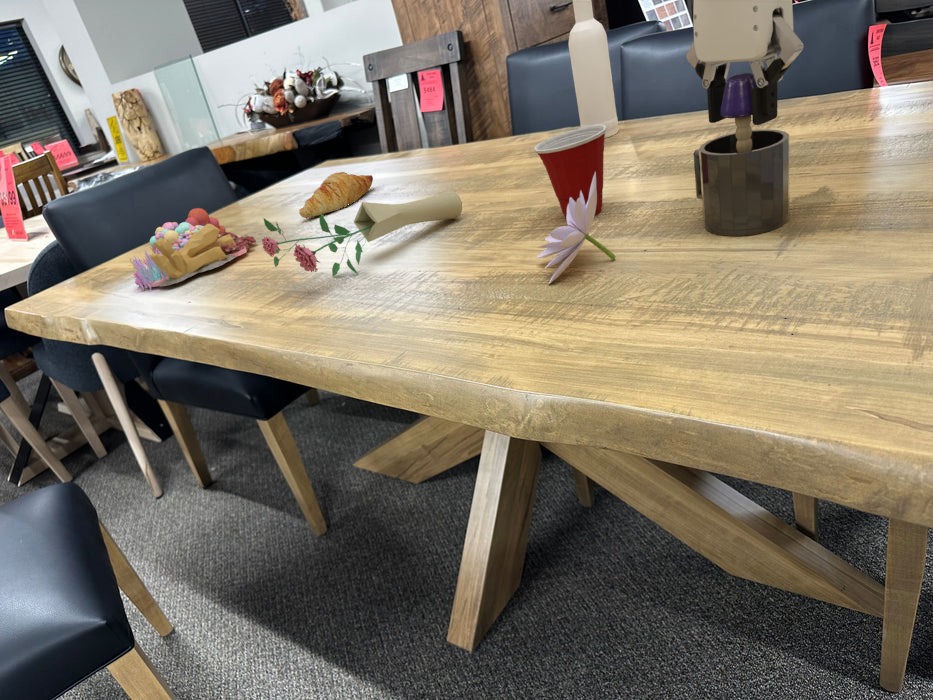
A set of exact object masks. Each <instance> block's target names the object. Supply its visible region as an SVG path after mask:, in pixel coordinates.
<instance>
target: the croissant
mask: <svg viewBox="0 0 933 700" xmlns="http://www.w3.org/2000/svg"><path fill="white" fill-rule="evenodd" d="M373 181H374V177H373V175H371V174H367V175H365V174H360V175H359V174H358V175H357V174H352V173H351V174H349V173H347V172H345V171H340V172H334V173H331V174H330V175H328V176H327V177H326V178H325V179H324V180H323V181H322V182H321V184H320V186H319V187H317V188H316V189H315V190H314V191H313V194H312V195H311V197H309V198H307V199H306V201H305V202H304V204H303V205H304V206H303V207H301V208H300V209H298V210H299V211H298V212H299V213H298V214H299V216H300V217H302V218H303V219H309V218H314V217H318V216H321V213H322V215H325V214H328V213H331V212H335V211H338V210H341V209H340V208H342V209H344V208H346V207H348V206H349V205H348V204H350V205H352V204H351V203H353V202H354V203H356V202H357V201H358V200H359V199H361V197H362V196H364V195H365V194H367V192H369V190H370V189H371V187H372V184H373ZM354 203H353V204H354ZM347 205H348V206H347ZM343 207H344V208H343ZM337 209H338V210H337Z"/></svg>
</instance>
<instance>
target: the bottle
mask: <svg viewBox="0 0 933 700" xmlns="http://www.w3.org/2000/svg"><path fill="white" fill-rule="evenodd" d="M572 7H573V13H574V20H575V23H574V24H573V27H572V28H571V30H570V32H569V36H568V51H569V57H570V63H571V71H572V77H573V84H574V89H575V90H574V91H575V97H576V103H577V104H576V105H577V110H578V117H579V123H580V125H579V126H580V127H579V128H582V127H587V126H592V125H604V126H607V127H606V132H605V136H604V139H607V138H610V137H613V136H615V135H617V134H618V132H619V130H620V129H619V120H618V115H617V114H618V113H617V107H616V98H615V92H614V84H613V77H612V76H613V75H612V68H611V67H612V66H611V59H610V52H609V51H610V50H609V44H608V43H609V42H608V36H607V32H606V30H605V28H604V25H603V24H602V23H601V22H599V20H597V19H595V18H594V11H593V3H592V0H572Z"/></svg>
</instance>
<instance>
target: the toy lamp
mask: <svg viewBox="0 0 933 700" xmlns="http://www.w3.org/2000/svg"><path fill="white" fill-rule="evenodd" d="M725 82H726V86H725V90H724V95H723V101H722V106H721V116H722V117H724V118H726V119H734V123H735V126H736V129H735V133H736V138H737V139H738V141H737V144H736V148H737V151H738V153H740V152H747V151H751V149H752V140H751V138H750V137H751V134H752V130H753V129H752V126H751V123H752V89H753V88H756V87H758V86H757V85H756V81H755V78H754V75H753V72H745V73H740V74H739V73H738V74H735V75H733V76H730V77H728V78H727V79H726V81H725Z"/></svg>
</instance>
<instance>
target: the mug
mask: <svg viewBox="0 0 933 700" xmlns="http://www.w3.org/2000/svg"><path fill="white" fill-rule="evenodd" d="M750 138H751V140H752V149H751V151H747V152H740V153H738V151H737V148H736V144H737V141H738V139H737V138H736V132H731V133H728V134H724V135H721V136H717V137H714V138H712V139H709V140H707V141H706V142H704V143H702V144H701V145H700V146H699V148H696V149H695V150H694V151H693V155H692V156H693V166H694V168H693V169H694V183H695V195H696V198H697V199H698V200H701V202H702V203H701V205H702V216H703V217H702V218H703V227H704V229H705V230H706V231H707V232H709V233H711V234H714V235H719V236H725V237H746V236H747V237H748V236H754V235H759V234H763V233H764V234H765V233H768V232H771V231H773V230H776V229H778V228H780V227H782V226H784V225H785V224H786V223H787V222H788V221H789V218H790V134H789V133H788V132H786V131H785V130H781V129H768V128H767V129H766V128H765V129H752V134H751V137H750Z"/></svg>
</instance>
